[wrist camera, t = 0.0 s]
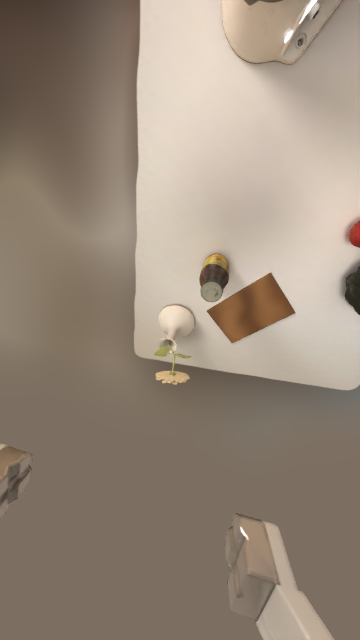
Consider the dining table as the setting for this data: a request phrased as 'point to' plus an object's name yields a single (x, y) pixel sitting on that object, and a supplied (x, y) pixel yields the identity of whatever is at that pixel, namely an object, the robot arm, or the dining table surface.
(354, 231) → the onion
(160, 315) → the flower in vase
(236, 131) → the dining table surface
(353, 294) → the squash
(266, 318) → the cork mat
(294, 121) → the dining table surface
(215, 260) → the sauce bottle
